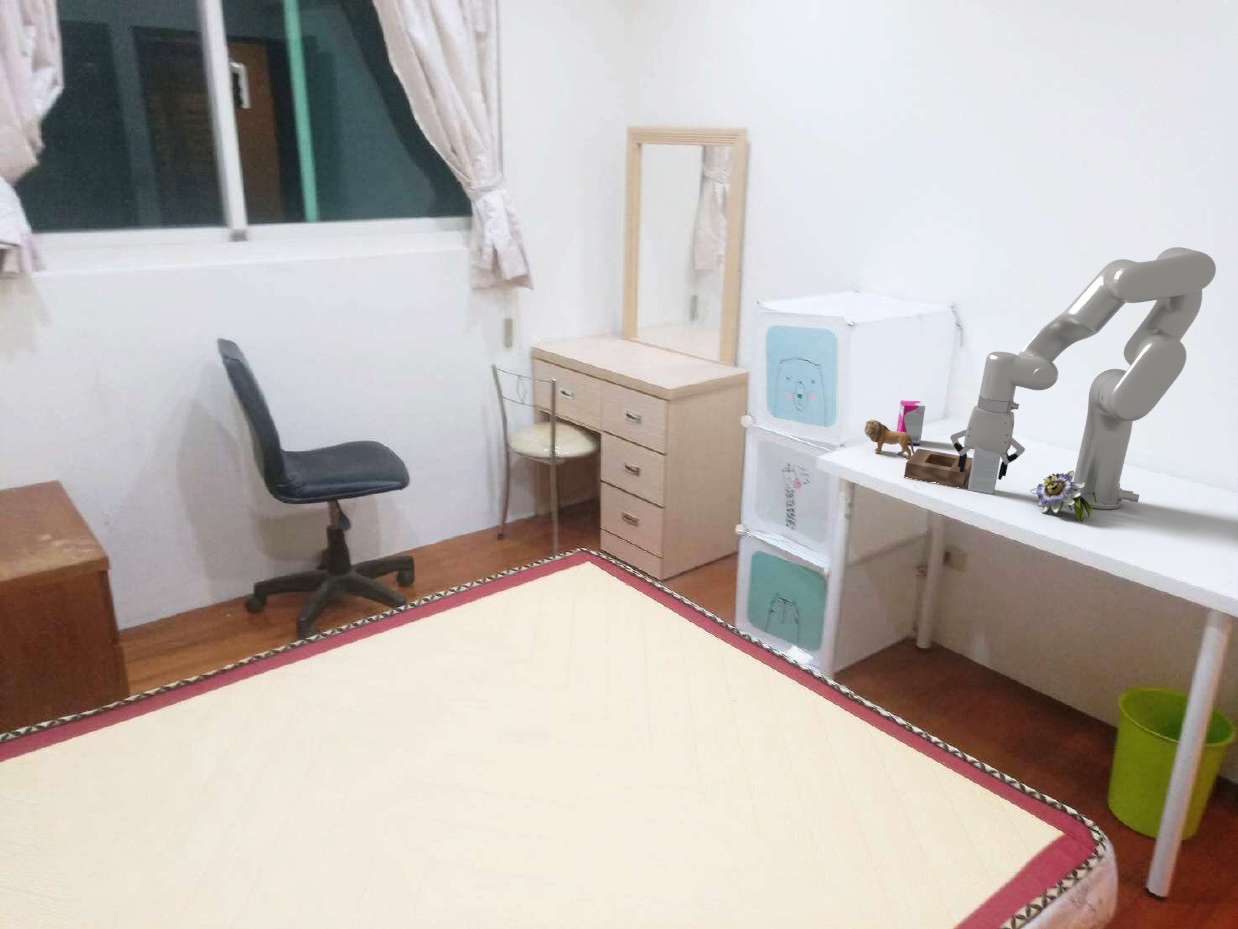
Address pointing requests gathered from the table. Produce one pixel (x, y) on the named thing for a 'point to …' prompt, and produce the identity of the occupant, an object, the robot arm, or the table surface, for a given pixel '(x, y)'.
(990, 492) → the skincare box
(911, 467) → the holder block
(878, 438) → the lion figurine
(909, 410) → the supplement box
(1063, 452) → the table surface
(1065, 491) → the passion flower
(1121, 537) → the table surface
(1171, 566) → the table surface
